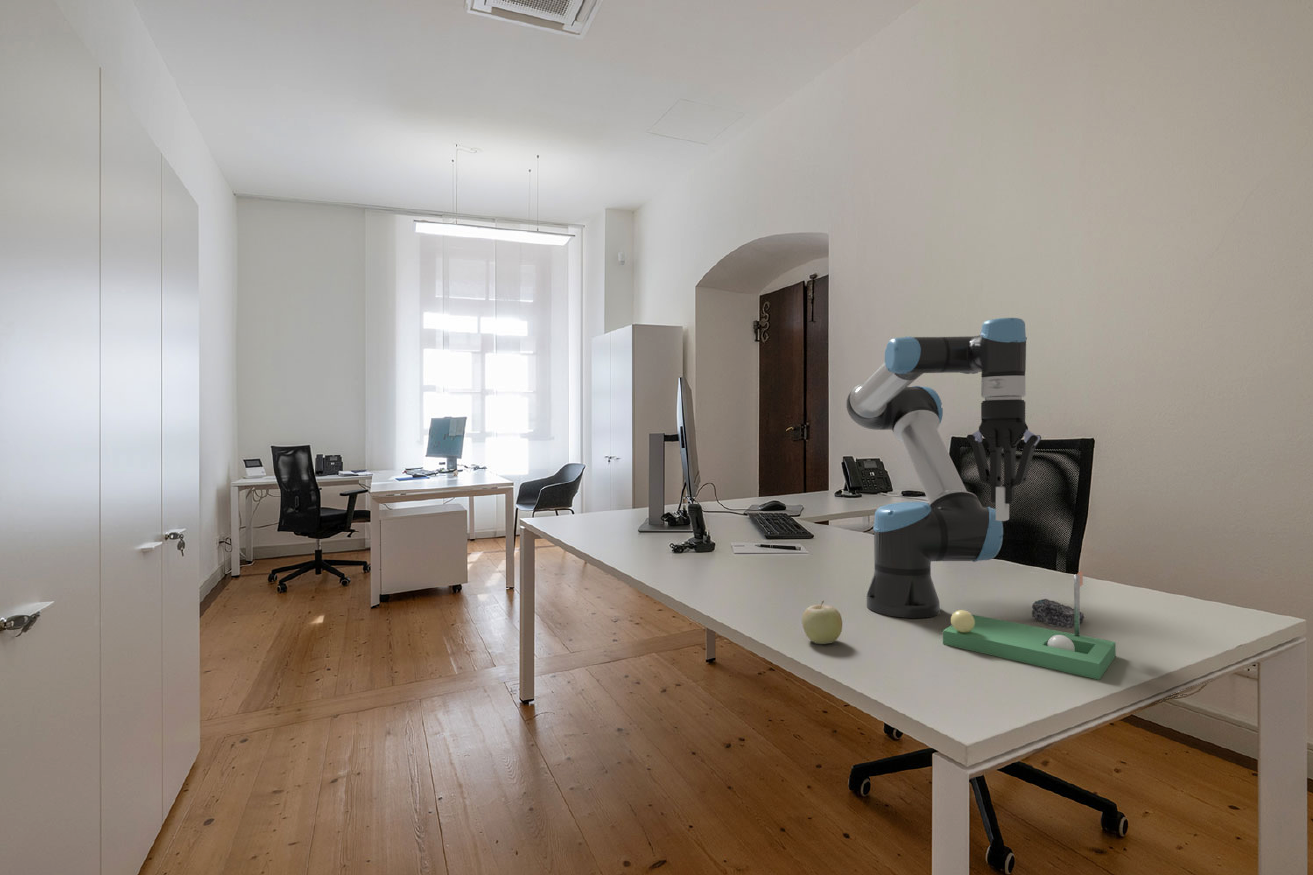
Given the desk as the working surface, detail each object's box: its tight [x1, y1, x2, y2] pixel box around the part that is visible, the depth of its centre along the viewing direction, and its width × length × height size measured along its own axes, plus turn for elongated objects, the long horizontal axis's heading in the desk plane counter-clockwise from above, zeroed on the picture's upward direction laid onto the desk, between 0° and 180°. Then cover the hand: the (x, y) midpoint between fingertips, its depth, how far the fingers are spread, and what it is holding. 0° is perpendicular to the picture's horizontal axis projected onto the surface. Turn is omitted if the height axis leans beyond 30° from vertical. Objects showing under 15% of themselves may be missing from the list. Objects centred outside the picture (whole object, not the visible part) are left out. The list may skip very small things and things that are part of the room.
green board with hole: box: [942, 613, 1117, 681], centre depth 112 cm, size 24×14×2 cm, turn 45°
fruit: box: [801, 600, 843, 645], centre depth 118 cm, size 8×7×8 cm
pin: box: [1073, 570, 1084, 637], centre depth 113 cm, size 1×4×11 cm, turn 135°
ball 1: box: [950, 609, 975, 633], centre depth 114 cm, size 4×4×4 cm
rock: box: [1031, 598, 1085, 629], centre depth 129 cm, size 8×10×4 cm
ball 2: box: [1047, 635, 1075, 652], centre depth 108 cm, size 4×4×4 cm
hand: (1002, 519), depth 121 cm, fingers closed
